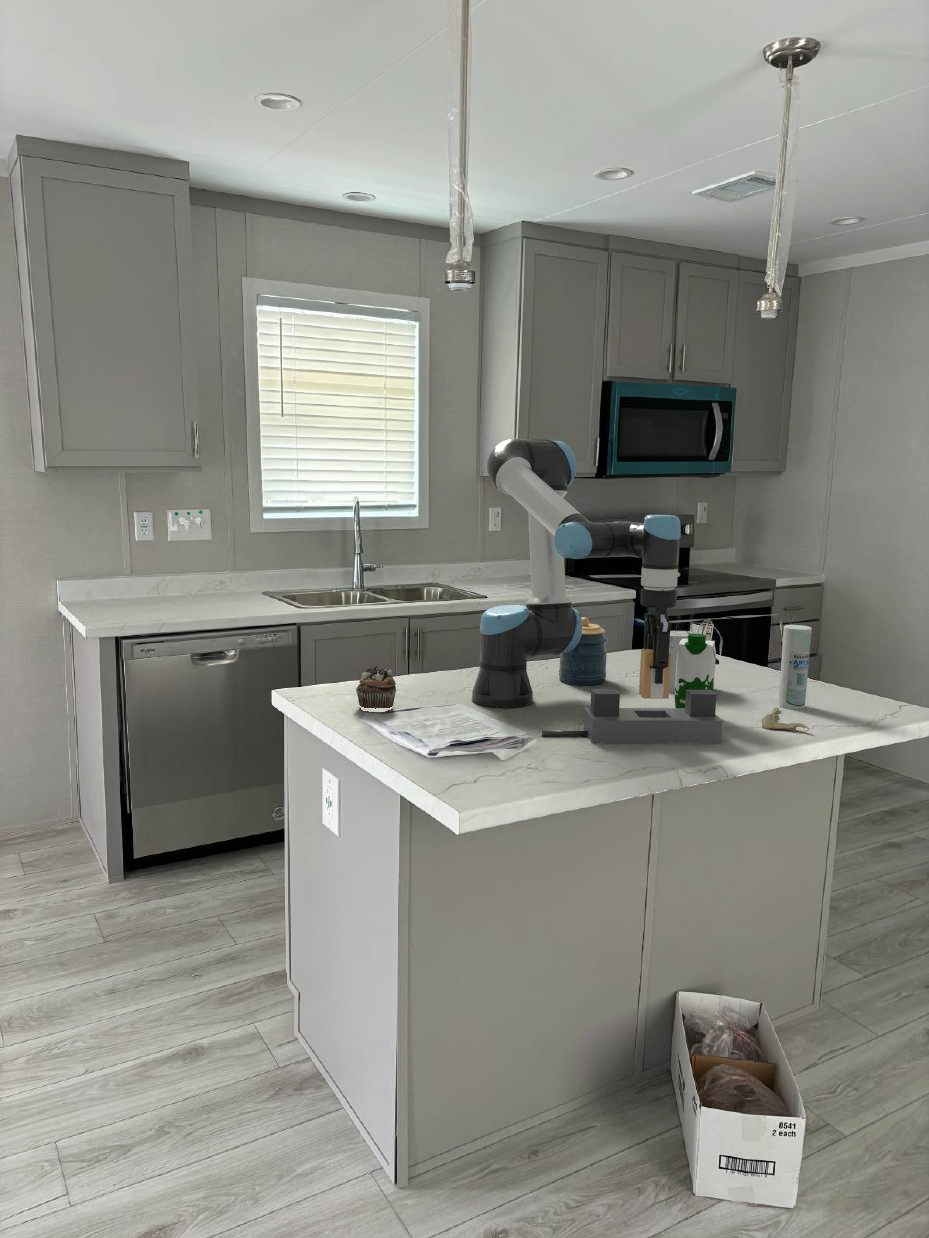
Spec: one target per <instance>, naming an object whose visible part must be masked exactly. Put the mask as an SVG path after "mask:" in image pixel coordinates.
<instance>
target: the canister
mask: <svg viewBox="0 0 929 1238" xmlns="http://www.w3.org/2000/svg"><path fill="white" fill-rule="evenodd" d="M581 619H582V625H583V628H582V635H581V639H580V641H579V643H578V644H577V645H576V647H575V648H574V649H573V650H572V651H570V652H567V653H561V654H559V670H558V677H559V680H560V681H561V682H563V683H565V684H569V685H575V686H595V685H601V684H604V683H606V678H607V654H608V650H607V647H606V645H607V644H606V643H608V641H609V638H607V636H605V633H606V629H604V628H603V627H601V626H600V625H599V624H595V623H590V619H589V618H588V617H586V616H584V617H581Z"/></svg>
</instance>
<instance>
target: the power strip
mask: <svg viewBox="0 0 929 1238" xmlns="http://www.w3.org/2000/svg"><path fill="white" fill-rule="evenodd" d="M717 695H718V694H716V692H713V691H712V690H686V699H685V708H675V707H620V705H621V703H620V701H621V693H620V692H619V691H618V689H616V688H615V689H614V688H613V689H611V688H610V689H609V688H607V689H606V688H602V689H601V688H599V689H598V688H592V689H590V707H584V710H583V711H584V713H583V730H552V729H551V730H545V729H543V730H541V737H587V738H588V739H589V740H590V742H591V743H592V744H722V743H723V726H724V720H723V719H722V718H720V717H719V716H718V715H717V714H716V710H717Z"/></svg>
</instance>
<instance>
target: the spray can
mask: <svg viewBox="0 0 929 1238" xmlns="http://www.w3.org/2000/svg"><path fill="white" fill-rule="evenodd" d="M812 630H813V629H812V627H810V626H808V625H801V624H800V625H798V624H786V625H784V626H783V635H782V649H781V662H780V663H781V665H780V676H779V678H780V679H779V690H778V691H779V692H778V693H779V694H778V706H779V707H780V708H784V709H788V710H803V709H805V706H806V697H807V687H808V675H809V664H810V654H811V643H812V642H811V641H812Z"/></svg>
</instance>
